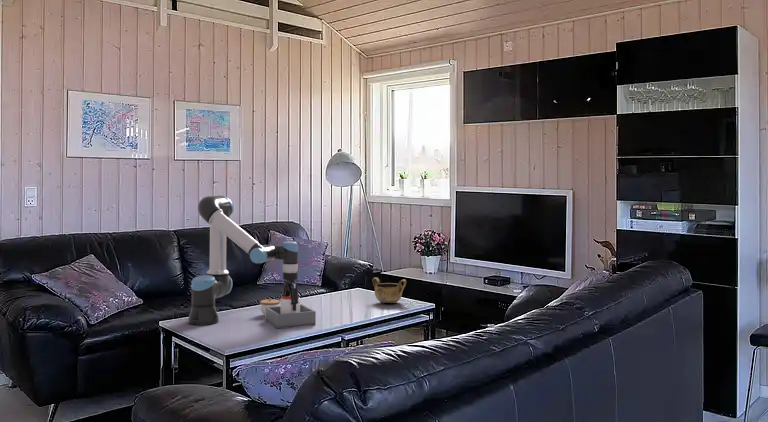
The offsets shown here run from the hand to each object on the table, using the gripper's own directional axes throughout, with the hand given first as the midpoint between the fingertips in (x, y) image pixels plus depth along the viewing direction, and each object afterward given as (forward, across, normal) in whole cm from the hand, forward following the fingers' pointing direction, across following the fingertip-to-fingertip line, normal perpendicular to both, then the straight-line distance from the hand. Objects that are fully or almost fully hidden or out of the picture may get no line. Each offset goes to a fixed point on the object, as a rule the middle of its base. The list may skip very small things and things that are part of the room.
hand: (290, 314), depth 338 cm
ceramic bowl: (+4, +25, -70) cm, 75 cm away
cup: (+1, 0, 0) cm, 1 cm away
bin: (+4, 0, 0) cm, 4 cm away
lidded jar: (+4, +22, +4) cm, 23 cm away
